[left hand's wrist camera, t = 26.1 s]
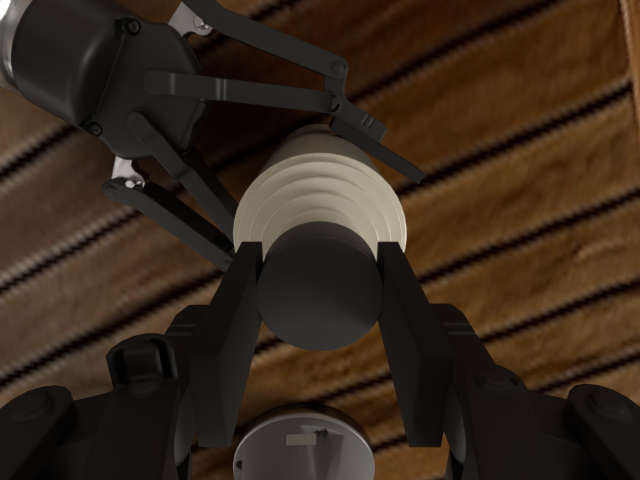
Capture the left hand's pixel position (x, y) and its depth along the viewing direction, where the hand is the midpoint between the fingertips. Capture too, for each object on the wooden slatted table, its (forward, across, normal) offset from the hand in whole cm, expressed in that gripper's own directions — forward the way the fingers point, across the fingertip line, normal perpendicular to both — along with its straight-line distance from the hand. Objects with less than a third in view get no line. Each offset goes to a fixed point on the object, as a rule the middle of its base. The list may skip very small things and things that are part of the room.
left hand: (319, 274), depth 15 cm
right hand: (+12, -4, +2) cm, 13 cm away
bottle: (+18, 0, 0) cm, 18 cm away
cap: (-1, 0, 0) cm, 1 cm away
